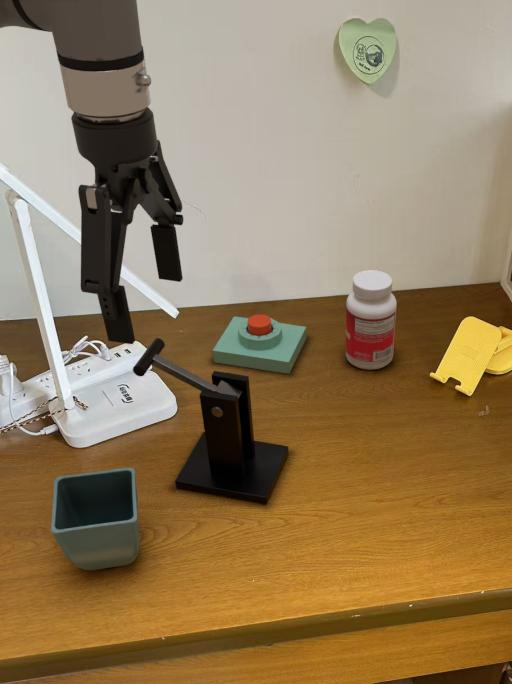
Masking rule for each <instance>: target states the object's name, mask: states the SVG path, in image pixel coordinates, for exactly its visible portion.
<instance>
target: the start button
mask: <svg viewBox="0 0 512 684" xmlns="http://www.w3.org/2000/svg"><path fill="white" fill-rule="evenodd" d="M248 318H249V319H248V321H247V323H248V332H249V334H251V335H255V336H263V335H267V334H269V333H271V331H272V327H271V319H270V318H271V317H270V316H268V315H266V314H254V315H251V316H249V317H248Z"/></svg>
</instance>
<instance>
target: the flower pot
mask: <svg viewBox="0 0 512 684" xmlns="http://www.w3.org/2000/svg"><path fill="white" fill-rule="evenodd" d="M136 475H137V474H136V469H135V468H134V467H122V468H114V469H109V470H100V471H92V472H84V473H76V474H68V475H61V476H57V477H56V478H54V480H53V495H52V497H53V499H52V512H51V525H50V531H51V534H52V535H53V537H54V539H55V541H56V543H57V545H58V547H59V548H60V550H61V552H62V553H63V555H64V557H65V558H66V559H67V561H69V562H70V563H71V564H72V565H74V566H76V567H77V568H80V569H82V570H85V571H96V570H101V569H108V568H115V567H122V566H124V567H125V566H129V565H131V564H132V563H133V562H134V561H135V560H136V559H137V557H138V555H139V551H140V546H141V544H140V543H141V542H140V523H139V501H138V488H137V487H138V486H137V476H136Z"/></svg>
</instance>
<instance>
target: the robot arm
mask: <svg viewBox="0 0 512 684" xmlns="http://www.w3.org/2000/svg"><path fill="white" fill-rule="evenodd" d="M139 19H140V17H139V11H138V2H137V0H0V29H3V28H6V27H7V28H8V27H19V28H25V29H29V30H36V31H42V32H48V33H51V34H52V38H53V42H54V46H55V51H56V57H57V61H58V63H59V69H60V74H61V79H62V83H63V89H64V93H65V99H66V104H67V107H68V108H69V109H70V110H71V111H72V112H73V113H72V115H71V117H70V119H71V124H72V128H73V133H74V138H75V143H76V148H77V151H78V153H79V155H80V156H81V157H82V158H84V159H85V160H87V161H88V162H89V163H90V164H91V165H92V166H93V168H94V183H93V184H91V185H88V184H80V185H78V188H77V189H78V190H77V192H78V199H79V205H80V212H81V214H80V215H81V216H80V220H81V221H80V224H81V225H80V230H81V231H80V290H81V292H82V293H86V294H87V293H88V294H93V295H97V299H98V303H99V308H100V313H101V316H102V319H103V323H104V328H105V332H106V336H107V340H108V342H112V343H113V342H114V343H119V344H120V343H121V344H127V345H133V344H134V343H135V342H136V337H135V332H134V328H133V323H132V322H133V321H132V318H131V312H130V307H129V303H128V302H129V301H128V298H127V293H126V288H125V285H120V282H121V275H122V274H121V273H122V266H123V259H124V251H125V243H126V237H127V230H128V226H129V225H130V224H132V223H133V221H134V213H135V210H136V209H137V207H138V205H140V206H141V208H142V209H143V210H144V211H145V213H146V214H147V215H148V216H149V217H150V219H151V220H152V221H153V222H154V223H157V224H154V223H152V225H150V233H151V241H152V245H153V252H154V257H155V264H156V269H157V276H158V280H163V281H171V282H177V283H181V282H182V280H183V279H184V277H183V271H182V263H181V258H180V257H181V256H180V250H179V243H178V236H177V228H176V226H183V224H184V215H183V214H179V213H181V212H182V211H183V202H182V200H181V198H180V195H179V193H178V191H177V188H176V186H175V183H174V180H173V179H172V176H171V174H170V170H169V169H168V166H167V164H166V162H165V159H164V155H163V149H162V145H161V141H160V140H159V139H158V137H157V129H156V123H155V116H154V112H153V110H151V109H150V108H149V106H150V104H151V101H152V100H151V93H150V92H151V91H150V86H151V84H152V78H151V76H150V75H149V74H148V71H147V65H146V59H145V51H144V47H143V43H142V36H141V35H142V34H141V28H140V20H139Z"/></svg>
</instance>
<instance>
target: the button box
mask: <svg viewBox="0 0 512 684" xmlns="http://www.w3.org/2000/svg"><path fill="white" fill-rule="evenodd" d="M249 318H250V317H242V316H233V317H232V319H231V321H230V322H229V324H228V325H227V327H226V328H225V329H224V332H223V333H222V335H221V336H220V338H219V340H218V341H217V343H216V344H215V346H214V347H213V349H212V356H213V363H216V364H223V365H229V366H235V367H241V368H242V367H243V368H248V369H255V370H262V371H268V372H274V373H280V374H281V373H282V374H288V375H290V373H291V371H292V369H293V367H294V365H295V363H296V360H297V359H298V357H299V355H300V353H301V351H302V349H303V346H304V345H305V343H306V340H307V326H304V325H295V324H289V323H283V322H279V321H277V320H275V319H274V318H271V317H269V318H270V319H271V327H272V331H271V333H269V334H267V335H263V336H255V335H251V334H249V332H248V323H247V321H248V319H249Z"/></svg>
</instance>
